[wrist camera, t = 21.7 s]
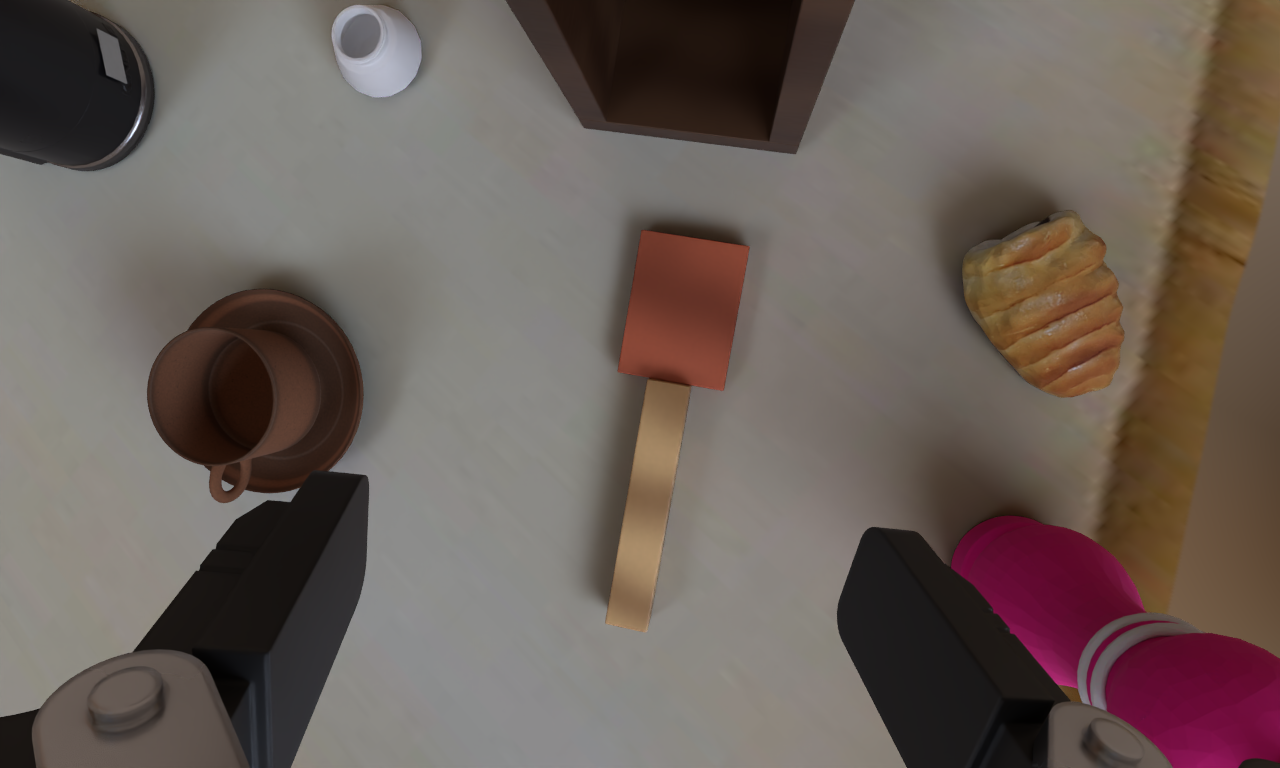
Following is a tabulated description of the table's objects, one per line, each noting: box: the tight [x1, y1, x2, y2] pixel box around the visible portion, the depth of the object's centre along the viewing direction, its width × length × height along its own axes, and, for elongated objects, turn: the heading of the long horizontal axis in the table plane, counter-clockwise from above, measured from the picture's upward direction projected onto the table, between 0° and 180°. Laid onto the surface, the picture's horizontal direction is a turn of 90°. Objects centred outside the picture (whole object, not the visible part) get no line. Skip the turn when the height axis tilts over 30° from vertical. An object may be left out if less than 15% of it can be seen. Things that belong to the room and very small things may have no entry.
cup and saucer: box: [147, 289, 363, 503], centre depth 39 cm, size 12×12×6 cm
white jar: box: [332, 5, 422, 98], centre depth 38 cm, size 5×3×5 cm
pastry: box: [962, 210, 1124, 398], centre depth 35 cm, size 9×7×4 cm
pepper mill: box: [951, 516, 1280, 768], centre depth 27 cm, size 7×7×20 cm
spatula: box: [605, 230, 750, 632], centre depth 38 cm, size 22×6×2 cm, turn 170°
